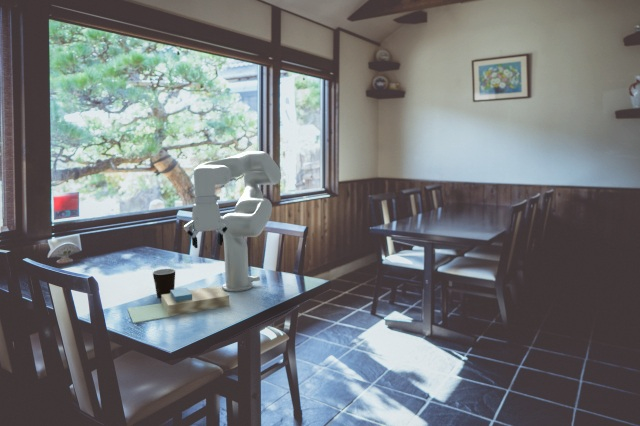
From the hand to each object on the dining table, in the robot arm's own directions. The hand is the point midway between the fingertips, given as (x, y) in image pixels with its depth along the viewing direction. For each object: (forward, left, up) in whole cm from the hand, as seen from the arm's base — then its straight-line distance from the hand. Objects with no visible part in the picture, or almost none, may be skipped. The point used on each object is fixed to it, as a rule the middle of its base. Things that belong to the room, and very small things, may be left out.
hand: (208, 246), depth 182 cm
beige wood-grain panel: (+6, 0, -22) cm, 23 cm away
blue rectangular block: (+11, 0, -18) cm, 21 cm away
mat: (+23, 0, -22) cm, 32 cm away
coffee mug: (+13, -19, -22) cm, 32 cm away
